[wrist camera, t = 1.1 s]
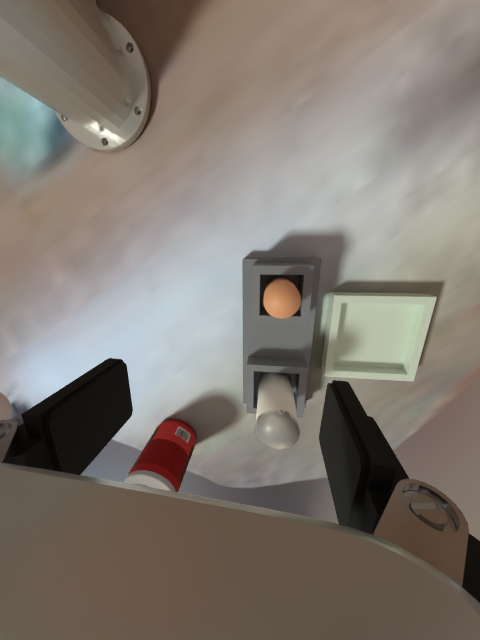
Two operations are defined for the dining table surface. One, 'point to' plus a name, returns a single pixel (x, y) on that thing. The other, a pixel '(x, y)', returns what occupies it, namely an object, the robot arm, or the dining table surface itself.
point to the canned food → (164, 457)
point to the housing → (278, 327)
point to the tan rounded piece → (281, 298)
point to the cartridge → (276, 411)
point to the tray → (375, 334)
